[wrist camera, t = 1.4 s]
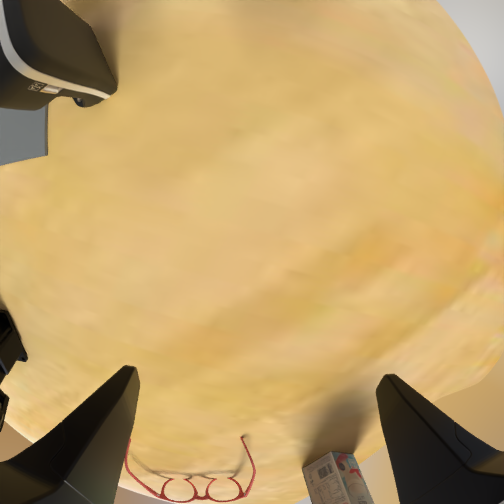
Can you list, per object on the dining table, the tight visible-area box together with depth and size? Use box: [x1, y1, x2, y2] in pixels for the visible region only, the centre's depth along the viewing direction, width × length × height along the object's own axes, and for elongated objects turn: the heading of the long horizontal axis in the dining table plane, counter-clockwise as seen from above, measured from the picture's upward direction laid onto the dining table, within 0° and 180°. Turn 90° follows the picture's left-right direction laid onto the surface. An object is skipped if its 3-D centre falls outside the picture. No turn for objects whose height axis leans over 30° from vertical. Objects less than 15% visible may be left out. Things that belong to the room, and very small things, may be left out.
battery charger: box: [0, 0, 117, 111], centre depth 9 cm, size 7×4×11 cm, turn 24°
